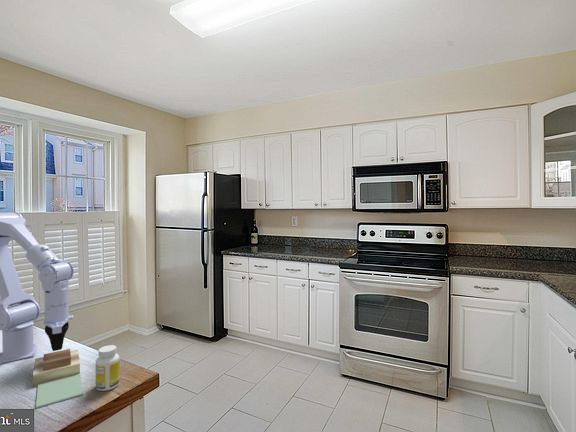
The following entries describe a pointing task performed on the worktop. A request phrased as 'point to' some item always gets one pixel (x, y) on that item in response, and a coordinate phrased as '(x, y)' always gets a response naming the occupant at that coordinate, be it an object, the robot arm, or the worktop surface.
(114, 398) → the worktop surface
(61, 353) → the walnut coaster
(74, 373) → the birch board
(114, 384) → the supplement bottle
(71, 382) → the green mat
